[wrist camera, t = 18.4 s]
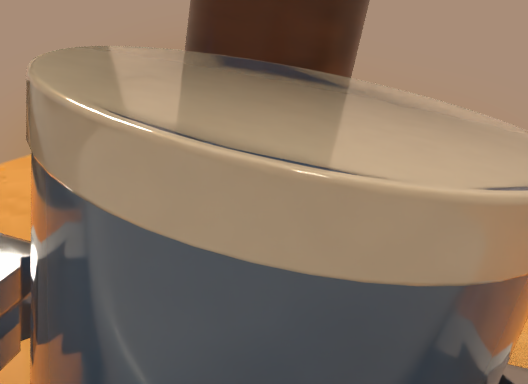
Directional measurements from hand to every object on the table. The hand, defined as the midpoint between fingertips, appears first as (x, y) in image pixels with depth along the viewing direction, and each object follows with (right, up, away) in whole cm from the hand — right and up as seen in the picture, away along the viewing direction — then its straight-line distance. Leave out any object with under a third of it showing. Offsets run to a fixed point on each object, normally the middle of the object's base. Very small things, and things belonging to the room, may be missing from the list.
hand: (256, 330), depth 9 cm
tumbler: (-1, -5, +1) cm, 5 cm away
